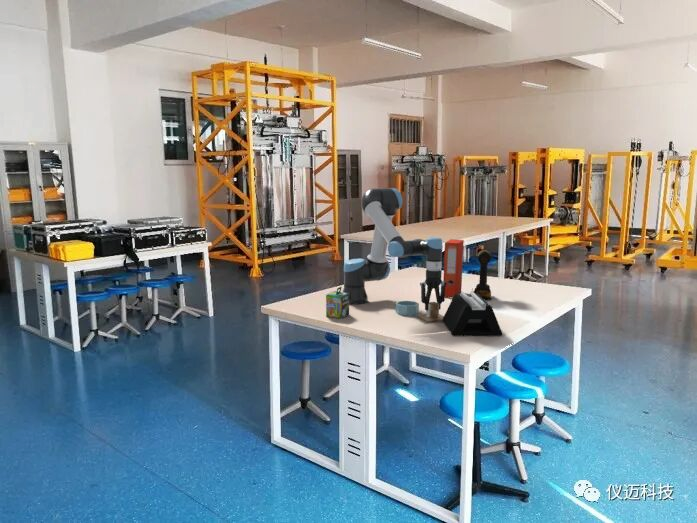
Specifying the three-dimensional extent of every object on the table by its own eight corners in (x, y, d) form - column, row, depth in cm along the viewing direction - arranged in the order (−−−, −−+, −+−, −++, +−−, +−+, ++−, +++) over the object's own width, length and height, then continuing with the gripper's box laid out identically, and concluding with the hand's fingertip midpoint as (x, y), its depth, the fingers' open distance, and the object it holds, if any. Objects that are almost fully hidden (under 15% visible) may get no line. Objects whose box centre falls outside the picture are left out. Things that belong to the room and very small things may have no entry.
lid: (426, 322, 270) (427, 306, 269) (416, 316, 281) (416, 301, 280) (449, 321, 274) (449, 304, 272) (437, 315, 285) (438, 299, 284)
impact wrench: (470, 299, 322) (472, 251, 317) (472, 292, 342) (474, 246, 337) (495, 301, 318) (497, 252, 314) (495, 293, 338) (497, 247, 334)
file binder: (461, 292, 341) (463, 239, 336) (456, 298, 325) (458, 243, 320) (448, 291, 344) (450, 239, 339) (442, 297, 328) (444, 242, 323)
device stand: (488, 321, 273) (490, 291, 270) (502, 336, 251) (504, 303, 248) (442, 321, 272) (443, 291, 270) (452, 336, 250) (453, 303, 248)
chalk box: (333, 312, 292) (333, 284, 289) (349, 314, 288) (350, 286, 285) (325, 316, 284) (325, 287, 281) (341, 318, 280) (341, 289, 277)
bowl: (401, 317, 283) (401, 306, 282) (393, 312, 293) (393, 301, 292) (421, 315, 286) (421, 305, 285) (412, 310, 296) (412, 300, 296)
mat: (425, 325, 268) (425, 324, 268) (412, 317, 282) (412, 316, 282) (453, 322, 273) (453, 321, 273) (439, 315, 287) (439, 314, 287)
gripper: (420, 271, 267) (419, 319, 271) (453, 269, 273) (451, 317, 276) (414, 269, 275) (413, 315, 278) (446, 267, 280) (444, 313, 283)
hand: (432, 316), depth 277 cm, fingers closed on lid, 4 cm apart
